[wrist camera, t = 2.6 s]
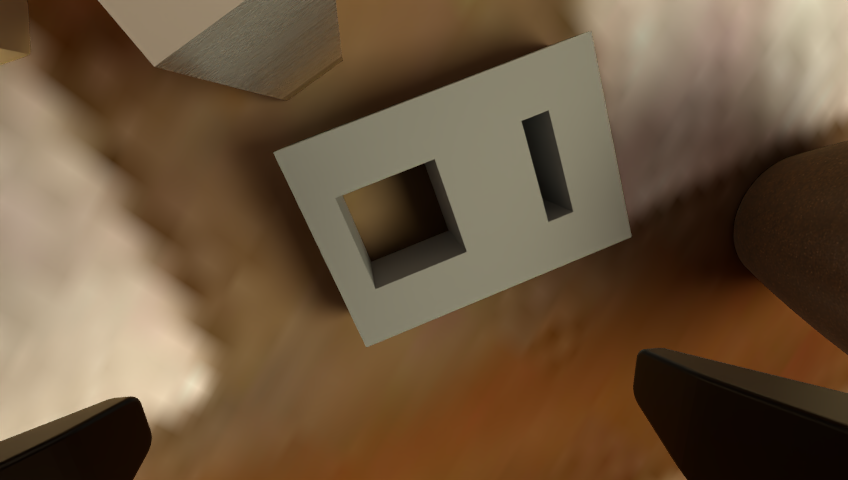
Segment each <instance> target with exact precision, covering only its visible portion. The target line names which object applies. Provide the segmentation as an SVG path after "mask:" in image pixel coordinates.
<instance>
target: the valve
mask: <svg viewBox="0 0 848 480" xmlns="http://www.w3.org/2000/svg"><path fill="white" fill-rule="evenodd" d="M30 52H31V44H30V28H29V11H28V3H27V0H0V65H2V64H5V63H8V62H11V61H14V60H17V59H20V58H22V57H25V56H28V55H30Z"/></svg>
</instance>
